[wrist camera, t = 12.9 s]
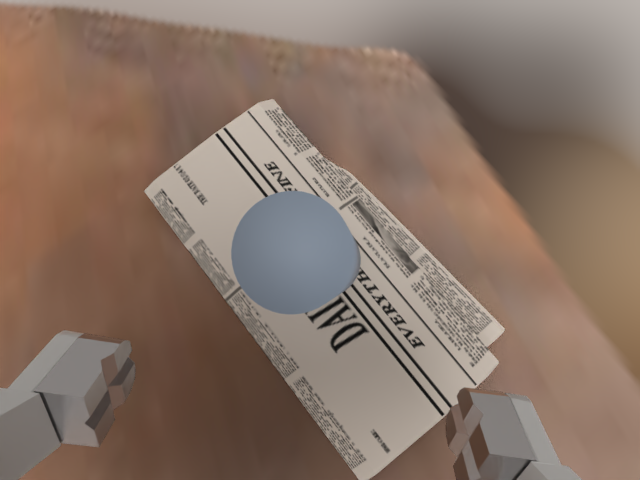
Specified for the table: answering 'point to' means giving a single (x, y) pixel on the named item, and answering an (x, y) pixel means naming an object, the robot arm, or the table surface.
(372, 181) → the table surface
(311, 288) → the blue peg
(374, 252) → the newspaper
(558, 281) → the table surface
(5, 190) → the table surface
